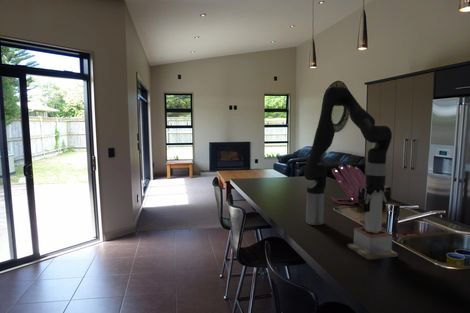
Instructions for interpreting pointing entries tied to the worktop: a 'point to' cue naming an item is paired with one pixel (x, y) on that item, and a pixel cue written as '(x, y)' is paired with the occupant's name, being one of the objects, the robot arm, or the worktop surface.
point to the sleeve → (372, 241)
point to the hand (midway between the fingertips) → (373, 211)
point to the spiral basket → (350, 182)
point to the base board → (372, 256)
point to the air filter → (374, 214)
